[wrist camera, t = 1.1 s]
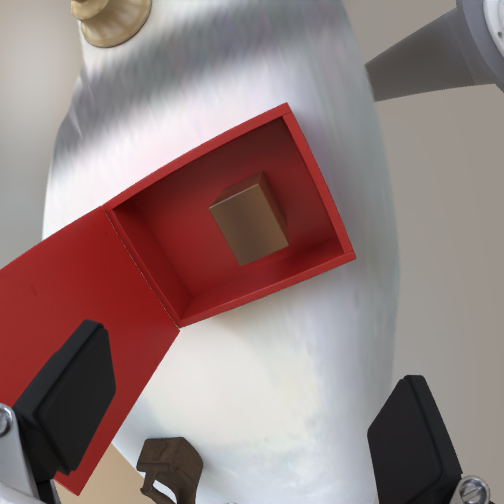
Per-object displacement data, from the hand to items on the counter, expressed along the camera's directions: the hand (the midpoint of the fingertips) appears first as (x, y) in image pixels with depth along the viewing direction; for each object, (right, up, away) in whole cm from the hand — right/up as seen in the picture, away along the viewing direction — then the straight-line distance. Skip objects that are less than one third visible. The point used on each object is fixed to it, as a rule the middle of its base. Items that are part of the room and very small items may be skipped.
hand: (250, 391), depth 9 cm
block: (0, +9, +20) cm, 22 cm away
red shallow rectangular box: (-2, +8, +21) cm, 23 cm away
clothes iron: (-13, -33, +39) cm, 53 cm away
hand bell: (-14, +29, +14) cm, 35 cm away
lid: (-12, -2, +10) cm, 16 cm away
